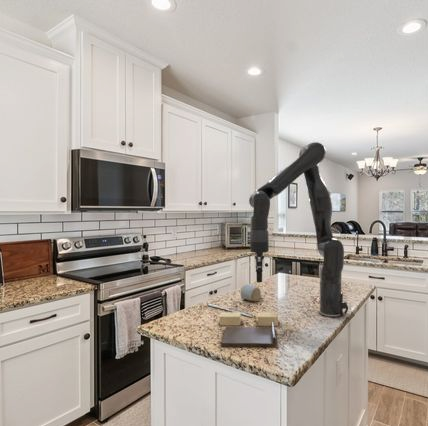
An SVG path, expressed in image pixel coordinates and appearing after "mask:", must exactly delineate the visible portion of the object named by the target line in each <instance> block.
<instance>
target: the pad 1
mask: <svg viewBox="0 0 428 426" xmlns="http://www.w3.org/2000/svg"><path fill="white" fill-rule="evenodd" d="M239 312H240V311H239ZM239 312H232V311H228V312H227V311H226V312H225V311H223V312H221V313H220V315H219V326H237V327H241V322H242V314H241V313H239Z"/></svg>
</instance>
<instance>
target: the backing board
mask: <svg viewBox="0 0 428 426" xmlns="http://www.w3.org/2000/svg"><path fill="white" fill-rule="evenodd" d="M275 330H276V329H275V326H274V322H271V326H256V327H255V326H226V327H225V330H224V334H223V337H222V339H221V345H220V346H221V348H225V347H226V348H227V347H228V348H246V347H247V348H276V332H275Z"/></svg>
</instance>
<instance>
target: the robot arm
mask: <svg viewBox="0 0 428 426" xmlns="http://www.w3.org/2000/svg"><path fill="white" fill-rule="evenodd" d="M326 151H327V149H326V148H325V146H324V145H323V144H322V143H320V142H319V141H314V142H310V143H308V144H306V145H304V146H302V147H301V148H300V150H299V152H298V158H296V159H295V160H294V161H293V162H291V163H290V164H289V165H287V166H286V167H284V168H283V169H282V170H280V171H278V172H277V173H276V174H275V175H274V176H273V177H272V178H270V179H269V180H268V181H267V182H266V183H265V184H263V185H262V186H261V187H259V188H257V189H256V190H255V191H254V192H252V193H251V195H250V196H249V199H248V203H249V205H250V207H251V208H253V209H252V211H253V212H252V216H251V218H250V234H249V238H250V239H249V243H250V244H249V246H250V247H249V250H250V252H251V253H254V254H256V255H254V267H255V273H256V283H262V282H263V272H264V270H263V268H264V267H265V264H264V262H265V255H263V254H264V253H268V252H269V249H270V247H269V245H270V244H269V242H270V241H269V214H270V208H271V199H273V198H274V197H277V196H278V195H280V194H282V192H283V191H285V190H286V189H287V188H288V187H289V186H290V185H291V184H293V183H294V182H295V181H296V180H297V179H298V178H299V177H300V176H302V175H304V179H305V185H306V189H307V195H308V201H309V207H310V211H311V215H312V220H313V224H314V228H315V236H316V237H315V238H316V246H317V251H318V253H319V255H320V256H321V257H323V261H322V262H323V263H322V266H321V267H320V269H319V300H318V301H319V302H318V303H319V314H320V315H322V316H323V317H324V316H325V317H329V318H330V317H331V318H337V317H342V316H344V315H346V314H347V313H348V311H349V305H348V302H347V301H346V300H345V299H344V293H343V292H342V276H343V275H342V273H343V270H344V266H345V265H344V263H345V247H344V244H343V242H342V241H341V240H339V239H338V238H335V237H334V235H333V230H332V216H333V203H332V198H331V194H330V190H329V188H328V187H327V185H326V184H325V182H324V180H323V179H322V176H321V174H320V173H321V172H320V169H319V164H320V163H322V162H323V161H324V159H325V158H326V154H327V153H326Z"/></svg>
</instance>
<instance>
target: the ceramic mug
mask: <svg viewBox="0 0 428 426" xmlns="http://www.w3.org/2000/svg"><path fill="white" fill-rule="evenodd" d="M261 293H262V292H261V289H260V288H259V287H257V286H255V285H251V284H249V283H245V284H243V285H242V286H241V288H240V297H241V298H242V300H246V301H249V302H253V303H254V302H257V301H259V300H260V299H262V297H263V294H261Z"/></svg>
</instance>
